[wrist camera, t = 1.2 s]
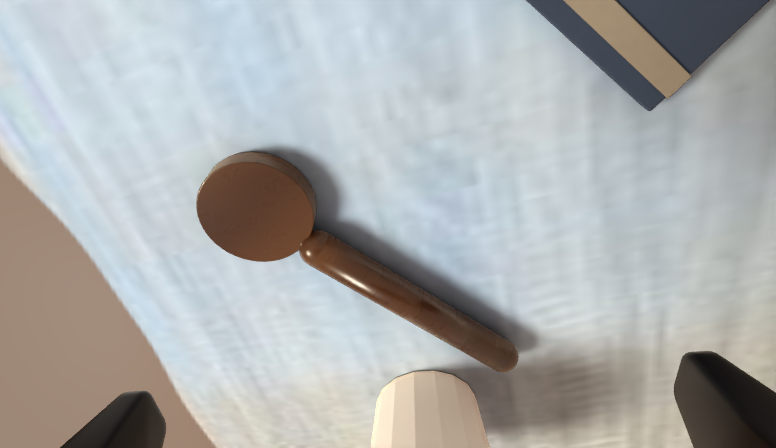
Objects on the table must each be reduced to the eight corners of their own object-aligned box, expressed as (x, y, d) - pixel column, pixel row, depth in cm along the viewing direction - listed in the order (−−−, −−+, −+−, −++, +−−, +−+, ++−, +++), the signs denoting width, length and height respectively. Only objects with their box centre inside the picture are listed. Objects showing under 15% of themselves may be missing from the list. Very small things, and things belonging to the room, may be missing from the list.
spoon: (544, 323, 25) (553, 347, 24) (479, 375, 27) (484, 400, 26) (236, 128, 20) (225, 145, 18) (184, 212, 22) (171, 232, 20)
